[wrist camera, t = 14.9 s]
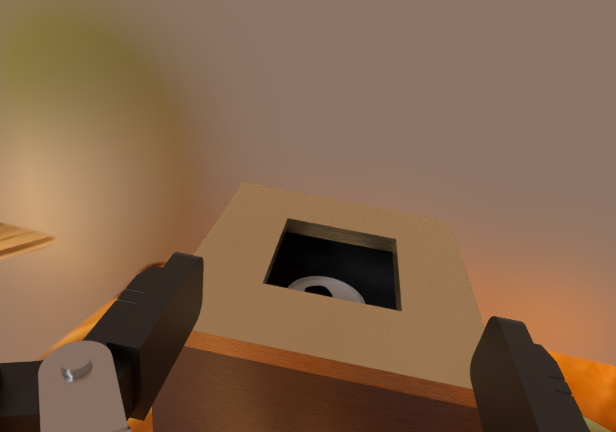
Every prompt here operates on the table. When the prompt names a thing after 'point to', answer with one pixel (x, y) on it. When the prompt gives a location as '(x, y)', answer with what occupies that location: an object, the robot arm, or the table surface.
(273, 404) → the grey tissue box
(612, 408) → the table surface
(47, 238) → the table surface
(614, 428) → the table surface
